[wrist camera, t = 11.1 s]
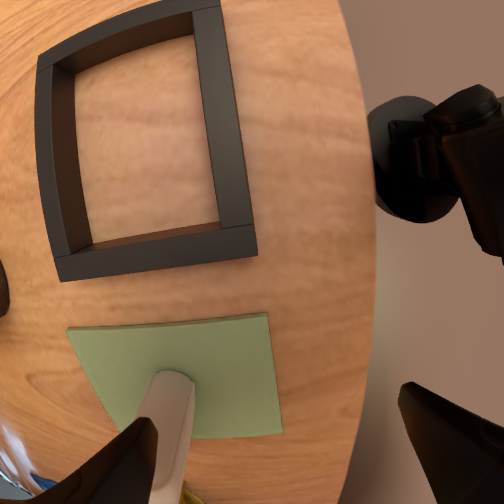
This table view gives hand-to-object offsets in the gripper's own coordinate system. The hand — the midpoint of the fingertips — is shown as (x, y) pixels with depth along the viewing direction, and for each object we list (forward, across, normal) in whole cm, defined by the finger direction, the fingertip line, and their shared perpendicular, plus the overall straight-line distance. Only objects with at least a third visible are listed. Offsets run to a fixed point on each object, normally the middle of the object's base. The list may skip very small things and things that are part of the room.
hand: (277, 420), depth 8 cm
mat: (+12, +9, +9) cm, 17 cm away
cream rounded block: (+12, +10, +11) cm, 19 cm away
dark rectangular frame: (+12, +7, -12) cm, 18 cm away
